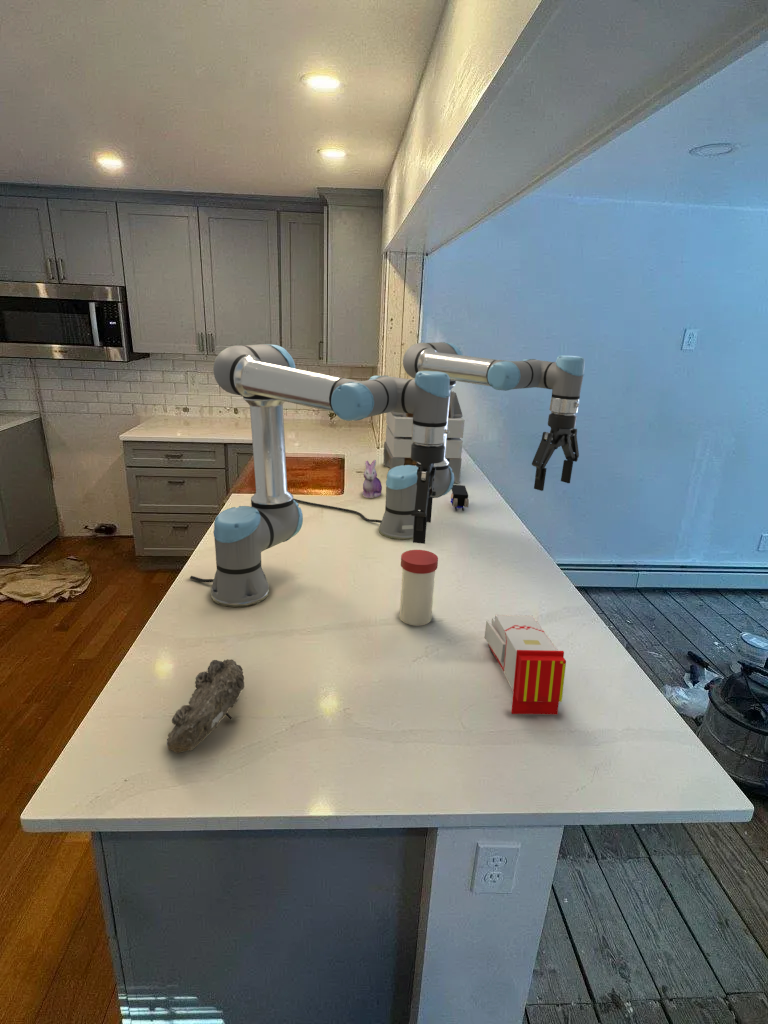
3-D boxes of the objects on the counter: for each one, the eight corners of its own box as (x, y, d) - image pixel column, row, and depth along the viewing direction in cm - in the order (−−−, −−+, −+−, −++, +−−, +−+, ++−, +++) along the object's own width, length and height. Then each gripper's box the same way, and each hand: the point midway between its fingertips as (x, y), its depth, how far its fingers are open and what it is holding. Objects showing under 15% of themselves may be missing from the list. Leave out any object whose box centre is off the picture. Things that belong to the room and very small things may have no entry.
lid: (402, 573, 137) (403, 564, 136) (398, 557, 145) (399, 549, 144) (440, 573, 137) (441, 565, 137) (434, 558, 146) (434, 549, 145)
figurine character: (468, 516, 224) (463, 500, 237) (471, 498, 221) (465, 483, 234) (452, 515, 224) (447, 499, 237) (453, 498, 220) (449, 482, 234)
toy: (530, 600, 137) (574, 657, 108) (525, 651, 140) (567, 720, 111) (480, 599, 137) (511, 656, 107) (477, 651, 139) (506, 719, 110)
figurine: (366, 499, 233) (368, 464, 228) (356, 492, 241) (357, 458, 236) (387, 497, 237) (388, 462, 232) (376, 490, 246) (377, 456, 241)
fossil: (192, 660, 117) (244, 628, 112) (224, 691, 120) (276, 661, 115) (142, 746, 98) (202, 712, 93) (182, 779, 101) (242, 748, 96)
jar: (401, 625, 142) (405, 565, 136) (397, 609, 150) (401, 551, 144) (433, 625, 143) (438, 565, 137) (428, 609, 151) (433, 552, 145)
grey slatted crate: (382, 463, 289) (386, 382, 275) (445, 464, 293) (451, 384, 279) (390, 482, 257) (394, 392, 243) (460, 483, 261) (468, 394, 247)
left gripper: (440, 457, 114) (433, 554, 121) (448, 433, 137) (442, 515, 144) (404, 454, 115) (398, 550, 122) (418, 430, 138) (413, 512, 145)
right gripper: (548, 419, 148) (537, 496, 155) (598, 411, 163) (586, 482, 171) (525, 414, 153) (515, 489, 160) (575, 407, 169) (564, 476, 176)
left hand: (422, 531), depth 133 cm, fingers open, 13 cm apart
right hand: (552, 485), depth 166 cm, fingers open, 13 cm apart
